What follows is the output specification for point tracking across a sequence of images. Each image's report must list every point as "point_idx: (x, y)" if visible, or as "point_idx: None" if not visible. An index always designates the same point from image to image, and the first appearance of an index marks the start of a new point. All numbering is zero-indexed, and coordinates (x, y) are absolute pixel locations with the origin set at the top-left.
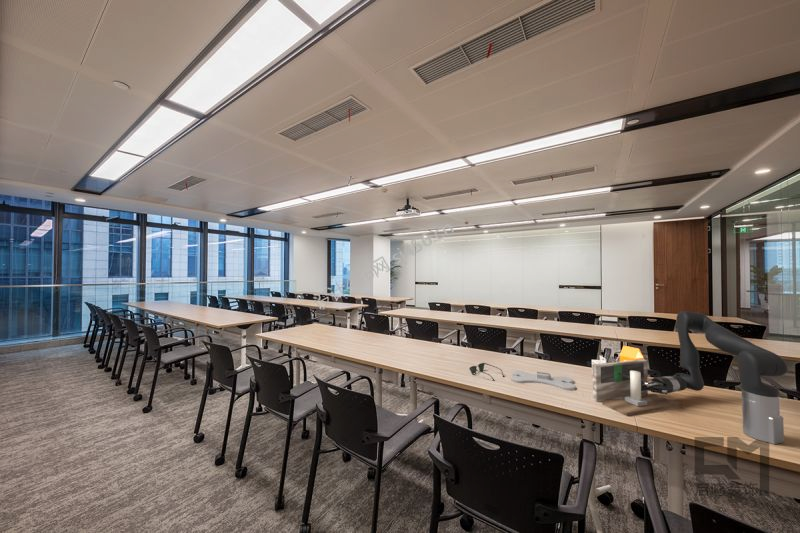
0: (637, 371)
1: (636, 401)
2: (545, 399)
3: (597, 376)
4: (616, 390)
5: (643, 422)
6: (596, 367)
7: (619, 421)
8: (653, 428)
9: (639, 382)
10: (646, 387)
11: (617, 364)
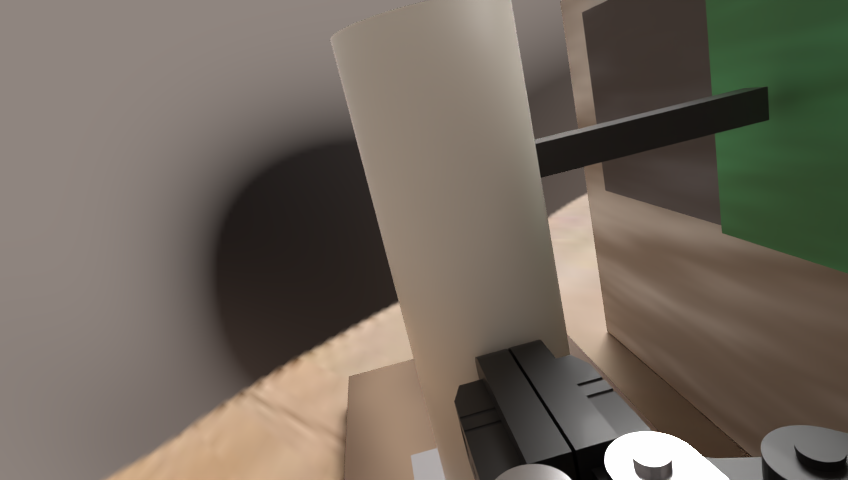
0: (438, 2)
1: (437, 456)
2: (582, 217)
3: (584, 115)
4: (785, 379)
5: (246, 443)
6: (566, 22)
7: (320, 349)
8: (166, 453)
9: (379, 226)
10: (475, 468)
11: None
